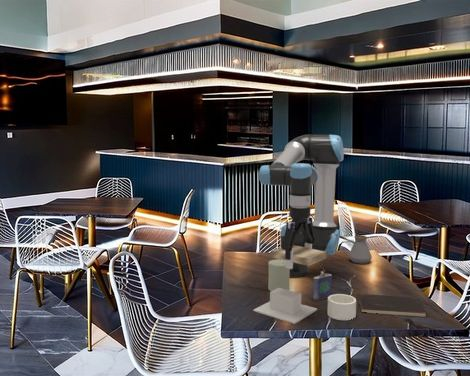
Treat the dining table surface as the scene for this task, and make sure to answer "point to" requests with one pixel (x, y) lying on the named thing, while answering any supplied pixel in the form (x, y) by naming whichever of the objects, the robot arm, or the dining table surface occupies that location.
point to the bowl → (341, 307)
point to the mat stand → (285, 306)
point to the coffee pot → (359, 250)
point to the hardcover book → (391, 305)
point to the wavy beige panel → (301, 255)
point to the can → (278, 275)
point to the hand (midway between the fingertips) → (298, 264)
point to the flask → (322, 286)
